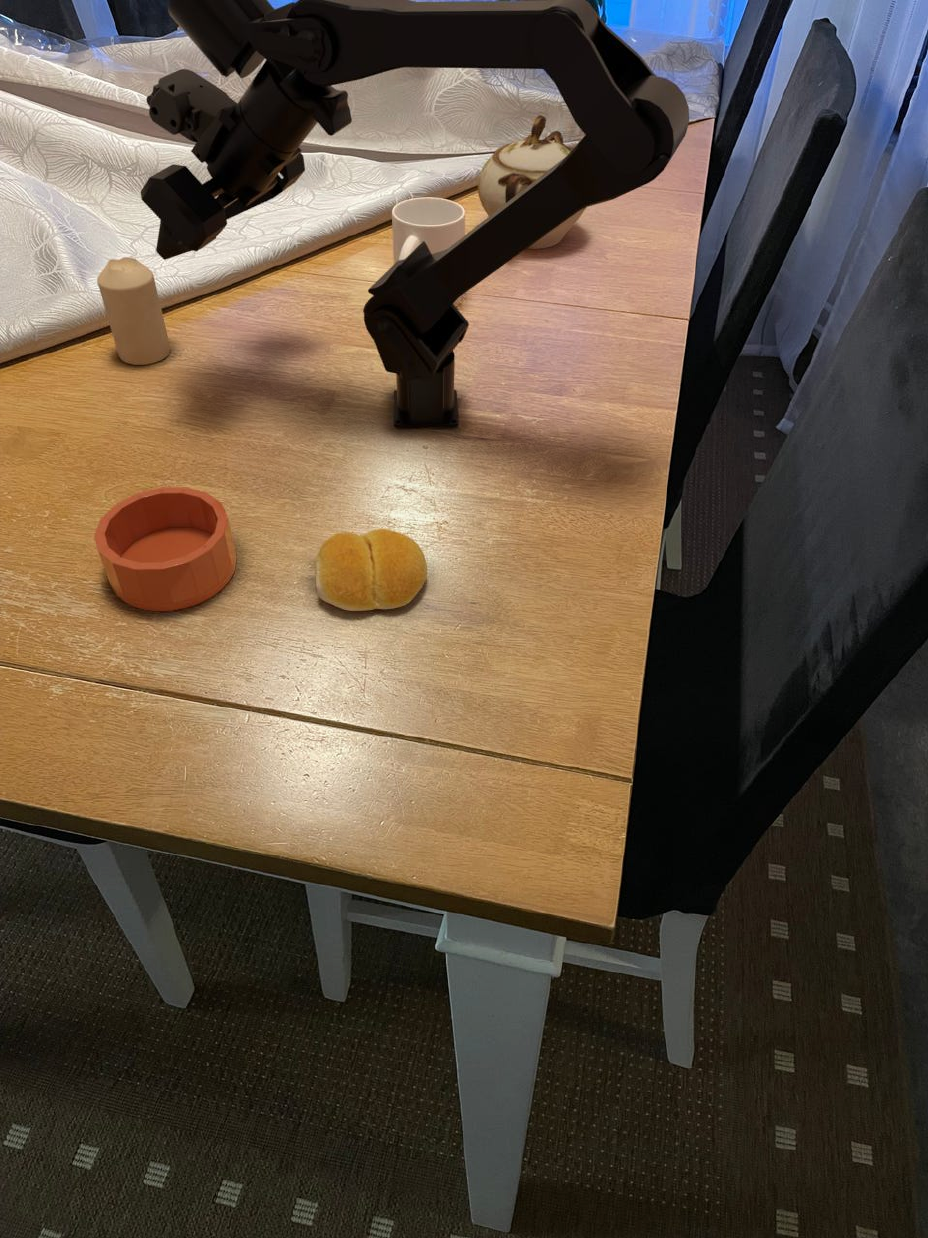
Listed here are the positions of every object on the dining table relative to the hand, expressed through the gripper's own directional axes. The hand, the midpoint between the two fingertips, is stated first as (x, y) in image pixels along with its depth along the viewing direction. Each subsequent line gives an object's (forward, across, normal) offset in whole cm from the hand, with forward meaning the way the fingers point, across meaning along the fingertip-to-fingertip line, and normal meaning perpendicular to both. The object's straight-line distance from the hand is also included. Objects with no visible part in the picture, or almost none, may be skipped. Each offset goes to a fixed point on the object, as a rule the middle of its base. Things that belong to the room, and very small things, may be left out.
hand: (188, 236), depth 85 cm
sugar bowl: (-5, -45, +25) cm, 52 cm away
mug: (-1, -21, +21) cm, 30 cm away
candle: (+16, +1, +4) cm, 16 cm away
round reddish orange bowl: (0, +30, +20) cm, 36 cm away
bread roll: (-11, +25, +31) cm, 41 cm away
